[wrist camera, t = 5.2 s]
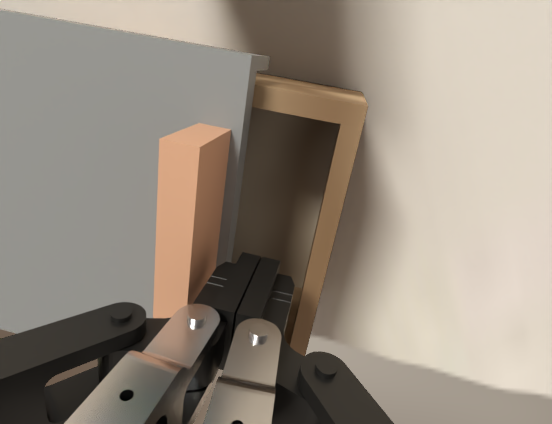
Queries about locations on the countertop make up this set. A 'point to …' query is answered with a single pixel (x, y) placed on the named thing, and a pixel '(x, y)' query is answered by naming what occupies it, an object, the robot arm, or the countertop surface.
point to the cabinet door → (115, 167)
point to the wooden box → (297, 184)
